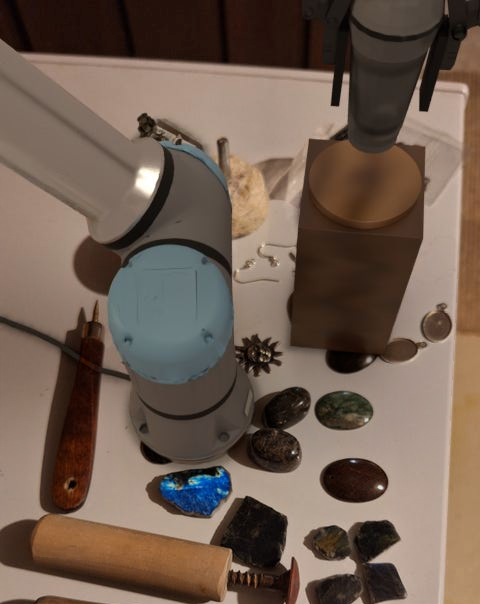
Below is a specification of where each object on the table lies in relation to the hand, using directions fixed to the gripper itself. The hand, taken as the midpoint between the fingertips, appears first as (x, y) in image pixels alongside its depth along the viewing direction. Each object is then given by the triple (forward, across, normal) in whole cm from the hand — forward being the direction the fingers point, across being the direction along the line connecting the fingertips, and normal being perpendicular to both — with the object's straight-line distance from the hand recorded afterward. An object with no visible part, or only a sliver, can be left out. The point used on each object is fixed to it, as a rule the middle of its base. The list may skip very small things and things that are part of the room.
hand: (379, 97), depth 54 cm
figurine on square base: (+32, +28, -26) cm, 50 cm away
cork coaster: (+10, 0, 0) cm, 10 cm away
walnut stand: (+32, 0, 0) cm, 32 cm away
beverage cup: (+4, 0, 0) cm, 4 cm away
